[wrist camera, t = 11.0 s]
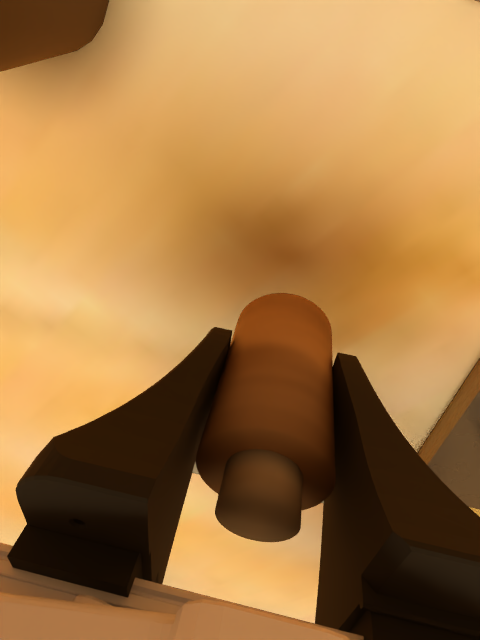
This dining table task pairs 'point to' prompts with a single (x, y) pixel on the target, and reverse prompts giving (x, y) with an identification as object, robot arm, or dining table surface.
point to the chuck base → (458, 443)
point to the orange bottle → (272, 420)
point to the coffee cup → (46, 28)
